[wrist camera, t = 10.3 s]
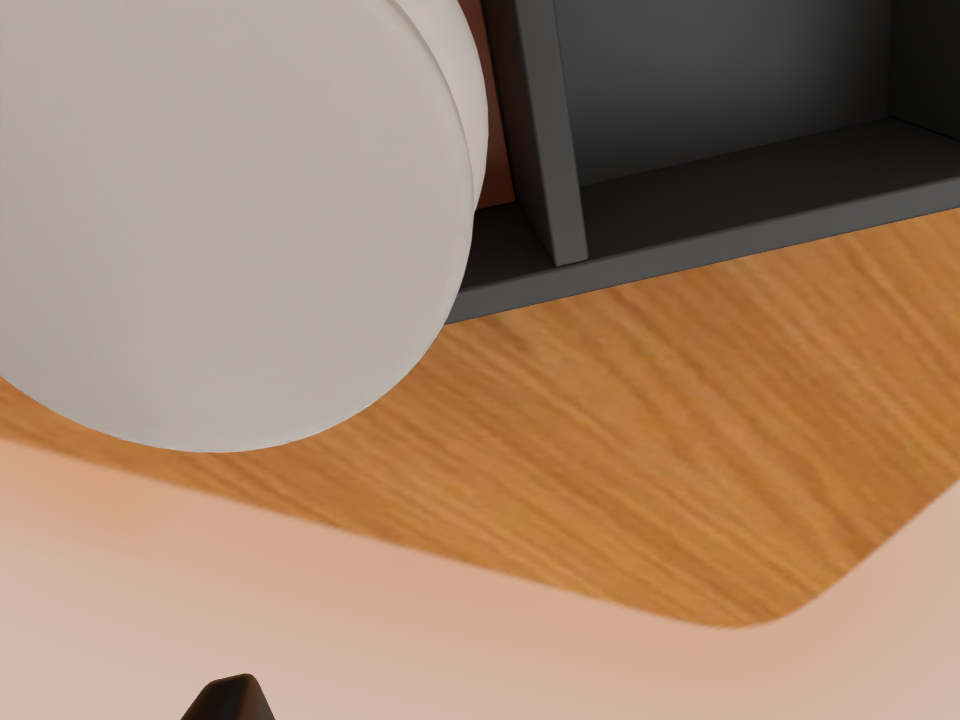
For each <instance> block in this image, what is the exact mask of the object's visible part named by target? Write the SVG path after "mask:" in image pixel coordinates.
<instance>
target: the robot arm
mask: <svg viewBox="0 0 960 720" xmlns="http://www.w3.org/2000/svg"><path fill="white" fill-rule="evenodd" d="M181 720H275V718H274V716H273V714H272V712H271V710H270V707H269V705H268V703H267V701H266V698H265V696H264V694H263V692H262V690H261V687H260V685H259V683H258V681H257V680H256V678H254V676H253V675H251V674H241V675H236V676H231V677H227V678H223V679H218V680H214V681H212V682H210V683H209V684H208V685H206V686H205V687H204V688H203V690H202V691H201V692H200V694H199V695H198V696H197V698H196V699H195V701H194V702H193V703H192V705H191V706H190V707H189V709H188V710H187V712H186V713H185V714H184V716H183V717H182V719H181Z"/></svg>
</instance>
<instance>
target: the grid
mask: <svg viewBox="0 0 960 720" xmlns="http://www.w3.org/2000/svg"><path fill="white" fill-rule="evenodd" d="M458 2H459V5H460V7H461V9H462V11H463V13H464V15H465V17H466V20H467V22H468V25H469V28H470V31H471V33H472V36H473V39H474V42H475V44H476V47H477V51H478V55H479V59H480V64H481V68H482V73H483V77H484V83H485V90H486V98H487V105H488V133H489V135H488V146H487V157H486V169H485V176H484V180H483V185H482V189H481V193H480V197H479V200H478V204H477V207H476V210H475V212H474V219H473V230H472V241H471V246H470V251H469V256H468V260H467V264H466V268H465V273H464V276H463V279H462V282H461V285H460V288H459V291H458V294H457V296H456V299H455V301H454V303H453V306H452V308H451V310H450V313H449V315H448V317H447V319H446V321H445V323H444V325H447V324H451V323H456V322H460V321H464V320H469V319H473V318H477V317H482V316H486V315H490V314H495V313H499V312H504V311H508V310H512V309H517V308H521V307H525V306H530V305H534V304H539V303H543V302H547V301H552V300H556V299H560V298H565V297H569V296H574V295H578V294H582V293H587V292H591V291H595V290H600V289H604V288H609V287H613V286H617V285H622V284H626V283H630V282H635V281H639V280H644V279H648V278H652V277H657V276H661V275H665V274H670V273H674V272H678V271H683V270H687V269H692V268H696V267H700V266H705V265H709V264H713V263H718V262H722V261H727V260H731V259H735V258H740V257H744V256H748V255H753V254H757V253H762V252H766V251H770V250H775V249H779V248H783V247H788V246H792V245H797V244H801V243H805V242H810V241H814V240H818V239H823V238H827V237H831V236H836V235H840V234H845V233H849V232H853V231H858V230H862V229H866V228H871V227H875V226H880V225H884V224H888V223H893V222H897V221H901V220H906V219H910V218H915V217H919V216H923V215H928V214H932V213H936V212H941V211H945V210H950V209H954V208H958V207H960V0H458Z"/></svg>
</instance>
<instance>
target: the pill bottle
mask: <svg viewBox="0 0 960 720" xmlns="http://www.w3.org/2000/svg"><path fill="white" fill-rule="evenodd" d="M488 135H489V133H488V105H487V98H486V90H485V83H484V77H483V73H482V68H481V64H480V59H479V55H478V51H477V47H476V44H475V42H474V39H473V36H472V33H471V31H470V28H469V25H468V22H467V20H466V17H465V15H464V13H463V11H462V9H461V7H460V5H459V2H458V0H0V376H1V377H2V378H4V379H5V380H6V381H7V382H9V383H10V384H11V385H13V386H14V387H15V388H17V389H18V390H20V391H21V392H23V393H24V394H26V395H27V396H29V397H30V398H32V399H34V400H35V401H37V402H39V403H40V404H42V405H44V406H45V407H47V408H49V409H50V410H52V411H54V412H56V413H58V414H60V415H61V416H63V417H66V418H68V419H70V420H72V421H74V422H76V423H78V424H80V425H82V426H85V427H88V428H90V429H93V430H96V431H99V432H102V433H105V434H108V435H110V436H113V437H116V438H118V439H121V440H125V441H129V442H133V443H138V444H142V445H147V446H151V447H157V448H164V449H170V450H177V451H187V452H241V451H249V450H257V449H263V448H268V447H273V446H279V445H283V444H287V443H290V442H293V441H297V440H300V439H303V438H307V437H309V436H312V435H315V434H317V433H320V432H322V431H324V430H327V429H329V428H331V427H333V426H335V425H337V424H339V423H341V422H343V421H345V420H347V419H348V418H350V417H352V416H354V415H355V414H357V413H359V412H360V411H362V410H364V409H365V408H367V407H368V406H370V405H371V404H373V403H374V402H375V401H377V400H378V399H379V398H380V397H382V396H383V395H384V394H386V393H387V392H388V391H389V390H391V389H392V388H393V387H394V386H395V385H396V384H397V383H398V382H399V381H400V380H401V379H403V378H404V377H405V376H406V375H407V374H408V373H409V371H410V370H411V369H412V368H413V367H414V366H415V365H416V364H417V363H418V362H419V360H420V359H421V358H422V356H423V355H424V354H425V352H426V351H427V350H428V348H429V347H430V346H431V344H432V343H433V341H434V340H435V338H436V337H437V335H438V333H439V332H440V330H441V328H442V326H443V325H444V323H445V321H446V319H447V317H448V315H449V313H450V310H451V308H452V306H453V303H454V301H455V299H456V296H457V294H458V291H459V288H460V285H461V282H462V279H463V276H464V273H465V268H466V264H467V260H468V256H469V251H470V246H471V241H472V230H473V219H474V212H475V210H476V207H477V204H478V200H479V197H480V193H481V189H482V185H483V180H484V176H485V169H486V157H487V146H488Z"/></svg>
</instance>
